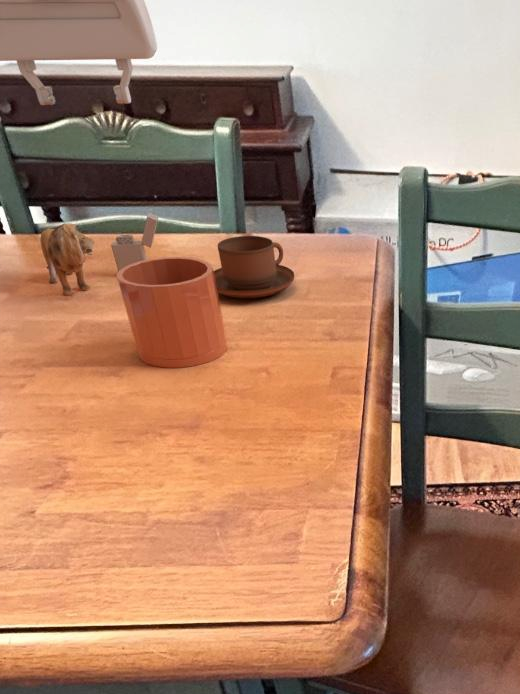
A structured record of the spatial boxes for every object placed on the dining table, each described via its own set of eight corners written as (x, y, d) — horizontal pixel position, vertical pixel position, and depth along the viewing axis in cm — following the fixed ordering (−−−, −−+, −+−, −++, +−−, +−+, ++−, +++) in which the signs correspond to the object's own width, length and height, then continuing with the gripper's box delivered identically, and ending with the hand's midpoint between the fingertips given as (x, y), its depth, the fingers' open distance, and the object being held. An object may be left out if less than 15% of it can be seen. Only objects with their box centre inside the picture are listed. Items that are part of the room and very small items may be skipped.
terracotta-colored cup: (131, 369, 83) (108, 288, 77) (146, 335, 91) (126, 258, 85) (223, 365, 84) (207, 284, 78) (230, 331, 92) (216, 255, 86)
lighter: (119, 276, 107) (102, 216, 102) (121, 273, 108) (104, 213, 103) (169, 274, 108) (156, 214, 103) (171, 270, 109) (157, 211, 104)
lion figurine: (112, 293, 102) (92, 223, 96) (75, 303, 99) (52, 230, 93) (66, 268, 109) (45, 201, 103) (30, 276, 106) (6, 208, 100)
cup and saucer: (238, 272, 109) (230, 227, 105) (310, 282, 106) (305, 236, 102) (191, 298, 100) (181, 251, 96) (268, 310, 98) (261, 261, 93)
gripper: (-59, -40, 81) (-7, 109, 91) (130, -40, 83) (162, 106, 92) (-38, -40, 86) (9, 101, 95) (142, -41, 88) (171, 98, 97)
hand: (86, 103), depth 94 cm, fingers open, 8 cm apart
